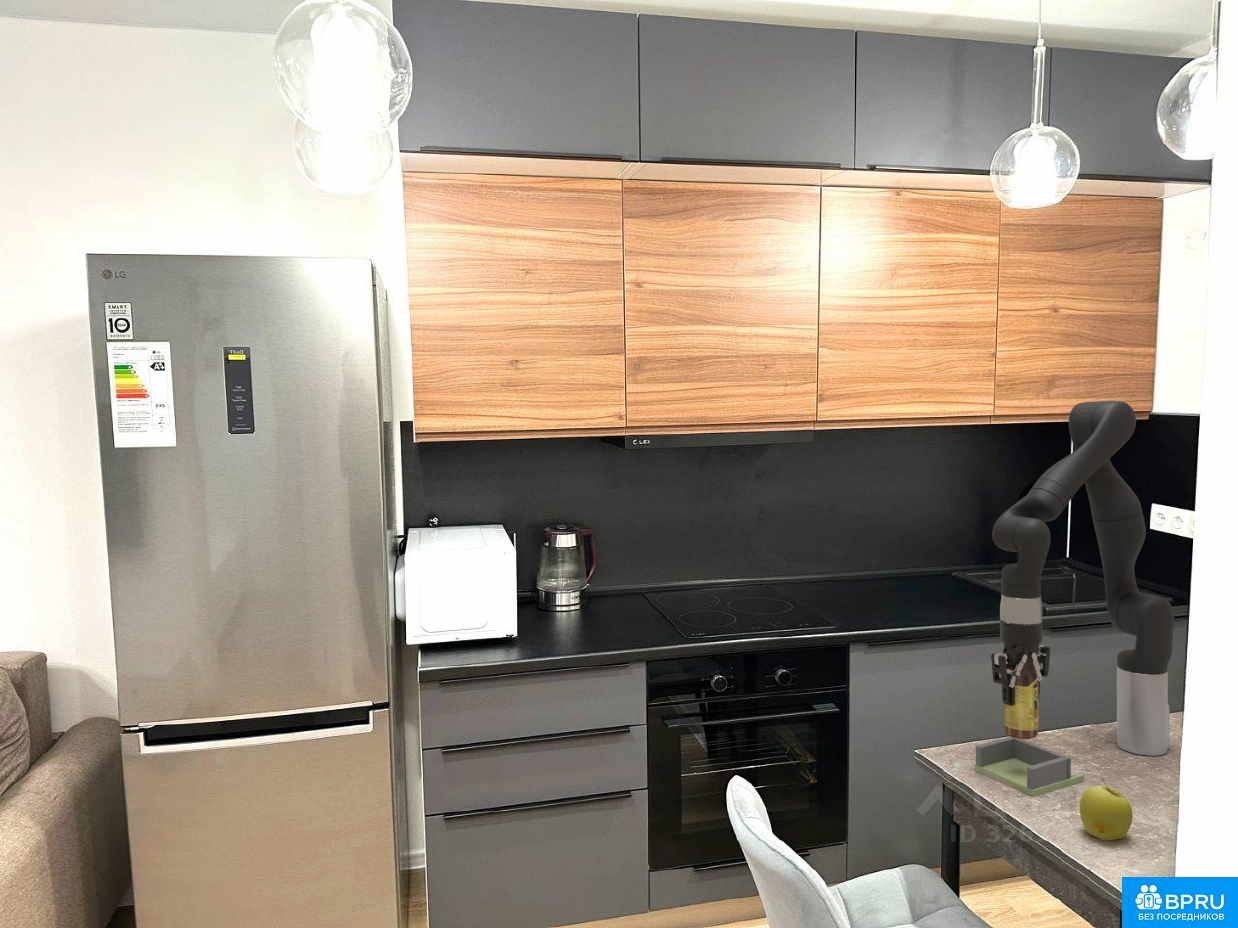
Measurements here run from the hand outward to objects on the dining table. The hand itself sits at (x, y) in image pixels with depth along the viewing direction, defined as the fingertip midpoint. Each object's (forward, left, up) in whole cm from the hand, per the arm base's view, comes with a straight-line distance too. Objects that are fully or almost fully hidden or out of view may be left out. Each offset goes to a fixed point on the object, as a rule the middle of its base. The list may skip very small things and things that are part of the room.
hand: (1021, 701), depth 174 cm
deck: (-2, 0, -15) cm, 16 cm away
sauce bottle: (0, 0, -7) cm, 7 cm away
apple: (+7, +23, -16) cm, 29 cm away
